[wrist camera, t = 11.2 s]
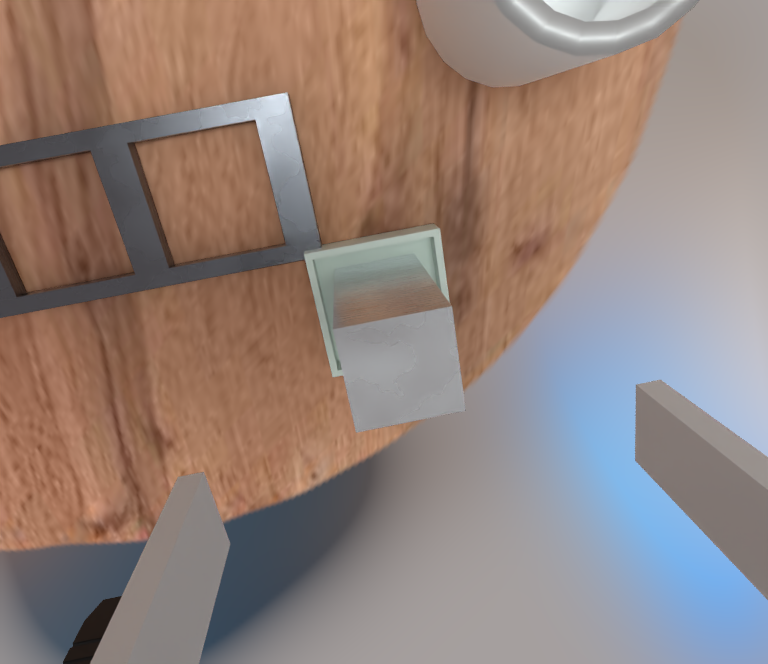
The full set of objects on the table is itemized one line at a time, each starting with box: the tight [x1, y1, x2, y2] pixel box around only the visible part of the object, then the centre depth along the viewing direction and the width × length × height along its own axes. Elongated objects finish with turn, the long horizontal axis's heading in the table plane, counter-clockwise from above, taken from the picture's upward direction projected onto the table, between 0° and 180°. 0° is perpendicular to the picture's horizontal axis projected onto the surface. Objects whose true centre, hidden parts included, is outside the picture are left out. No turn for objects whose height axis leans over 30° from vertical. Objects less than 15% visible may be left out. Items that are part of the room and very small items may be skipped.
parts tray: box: [304, 223, 450, 377], centre depth 31 cm, size 8×8×2 cm
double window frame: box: [0, 93, 322, 318], centre depth 29 cm, size 20×9×1 cm, turn 100°
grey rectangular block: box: [333, 253, 466, 432], centre depth 27 cm, size 5×5×11 cm
